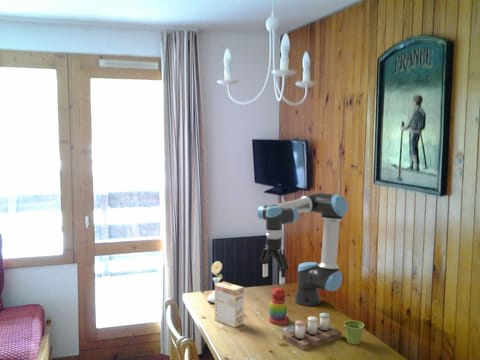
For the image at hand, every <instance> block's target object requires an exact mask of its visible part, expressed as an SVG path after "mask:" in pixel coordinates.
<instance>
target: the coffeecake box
mask: <svg viewBox="0 0 480 360" xmlns="http://www.w3.org/2000/svg"><path fill="white" fill-rule="evenodd" d="M214 290H215V303H214V321H216V322H219V323H221V324H224V325H227V326H229V327H233V328H234V329H235V328H237V327H240V326H242V325H244V323H245V321H244V317H245V316H244V312H245V309H244V308H245V307H244V303H245V301H244V295H245V294H244V290H245V287H244V286H242V285H241V286H240V285H237V284H233V283H230V282H227V281H222V282H220V281H219V283H217V284H215V283H214Z"/></svg>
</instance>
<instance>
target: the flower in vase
mask: <svg viewBox="0 0 480 360" xmlns="http://www.w3.org/2000/svg"><path fill="white" fill-rule="evenodd" d="M210 267H211V268H210V269H211V271H210V272H211V273H212V274H213V275H214V276H216V277H212V281H213V283H214V285H215V284H217V283H220V281H221V280H222V279H223V278H224V277H223V274H222V273H221V274H220V272H221V270H222V269H223V263H221V262H220V260H218V261H217V260H216V261H214V263H212V265H211V266H210ZM206 298H207V299H206V300H207V301H208V302H210V303H212V304H215V289H214V290H213V291H212V293H210V294H209V295H208V296H207V297H206Z"/></svg>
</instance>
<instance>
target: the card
mask: <svg viewBox="0 0 480 360" xmlns="http://www.w3.org/2000/svg"><path fill="white" fill-rule="evenodd" d="M305 327H308V325H305ZM278 331H280V332H282V333H283V334H285V333H289V332H292V331H295V323H293V324H290V325H285V326H282V327H280V328H278Z"/></svg>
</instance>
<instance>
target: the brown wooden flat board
mask: <svg viewBox="0 0 480 360" xmlns="http://www.w3.org/2000/svg"><path fill="white" fill-rule="evenodd" d="M342 334H343V333H342V331H340V330H338V329H336V328H334V327H331V326H330V325H329V329H328V330H322V329H320V322H317V333H316V334H310V333H308V326H307V327H305V337H304V338H297V337H296V336H295V331H292V332H289V333H283V334H282V341H283V340H284V341H285V342H286V343H289V344H290V345H292V346H294V347H296V348H298V349H299V350H302V351H305V350H308V349H312V348H314V347H317V346H320V345H322V344H325V343H328V342H331V341H335V340H337V339H339V338H342V337H343V336H342ZM299 339H301V340H299Z"/></svg>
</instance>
